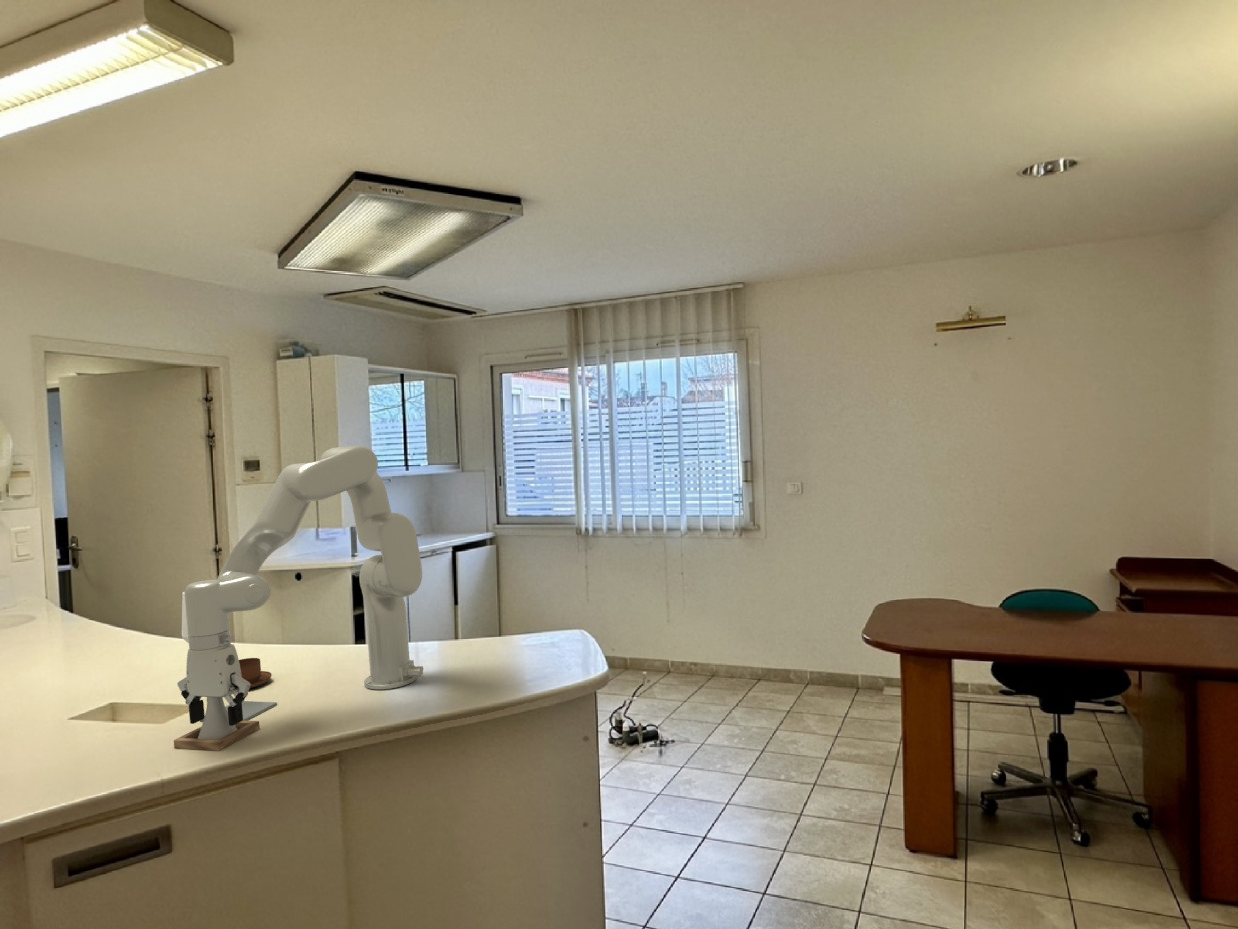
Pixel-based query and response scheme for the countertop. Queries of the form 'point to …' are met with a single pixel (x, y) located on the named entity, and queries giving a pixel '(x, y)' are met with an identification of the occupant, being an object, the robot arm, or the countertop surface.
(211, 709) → the flask
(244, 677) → the cup and saucer
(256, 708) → the slate tile
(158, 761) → the countertop surface
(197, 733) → the square wooden frame
